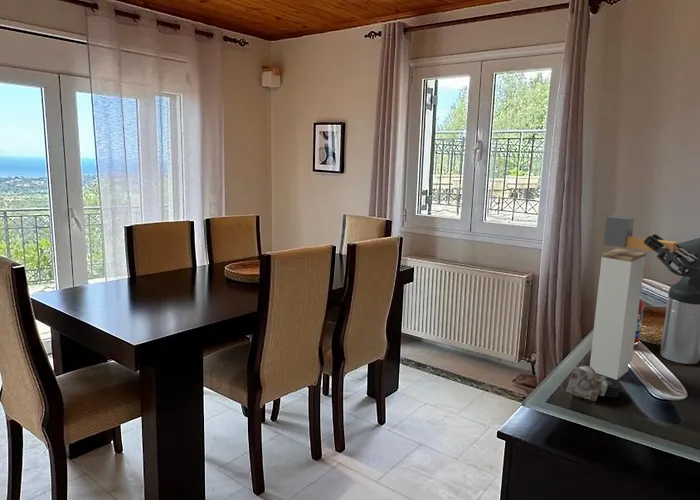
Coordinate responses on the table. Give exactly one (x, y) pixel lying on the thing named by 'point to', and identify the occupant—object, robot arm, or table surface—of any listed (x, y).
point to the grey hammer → (627, 234)
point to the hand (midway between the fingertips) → (649, 238)
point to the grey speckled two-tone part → (591, 384)
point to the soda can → (639, 320)
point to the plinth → (616, 311)
